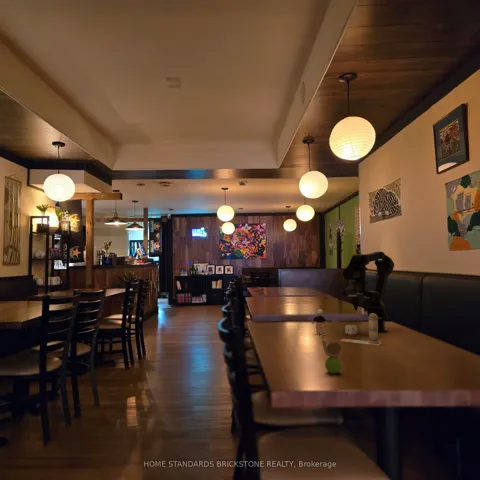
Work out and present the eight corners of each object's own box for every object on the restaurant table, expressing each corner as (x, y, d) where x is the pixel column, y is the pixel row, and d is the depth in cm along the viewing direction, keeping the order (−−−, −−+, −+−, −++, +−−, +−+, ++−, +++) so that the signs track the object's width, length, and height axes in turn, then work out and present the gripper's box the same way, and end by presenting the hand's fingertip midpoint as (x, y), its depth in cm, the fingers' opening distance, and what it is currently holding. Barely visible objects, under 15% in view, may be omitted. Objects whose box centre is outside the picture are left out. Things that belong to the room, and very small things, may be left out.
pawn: (372, 341, 172) (372, 312, 173) (382, 343, 168) (381, 313, 168) (364, 342, 169) (364, 312, 170) (374, 345, 165) (373, 314, 166)
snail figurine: (320, 371, 128) (319, 334, 129) (338, 370, 128) (338, 334, 129) (325, 376, 123) (324, 338, 123) (344, 375, 123) (343, 337, 124)
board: (383, 343, 169) (383, 342, 170) (379, 346, 164) (379, 345, 164) (342, 339, 180) (342, 338, 180) (337, 342, 174) (337, 340, 174)
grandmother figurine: (327, 334, 193) (326, 308, 194) (328, 335, 189) (327, 309, 190) (311, 333, 194) (311, 308, 194) (312, 335, 190) (311, 309, 191)
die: (350, 332, 197) (350, 324, 198) (357, 333, 194) (357, 325, 194) (345, 333, 195) (345, 324, 195) (351, 334, 192) (351, 326, 192)
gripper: (334, 279, 194) (335, 310, 194) (364, 280, 179) (364, 314, 178) (349, 278, 200) (350, 308, 199) (379, 280, 184) (380, 312, 184)
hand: (360, 311), depth 190 cm, fingers open, 6 cm apart
